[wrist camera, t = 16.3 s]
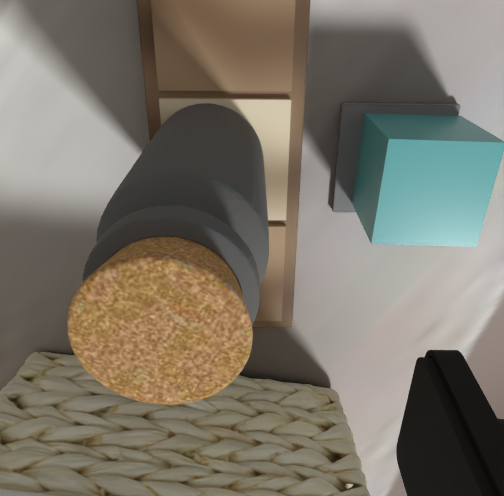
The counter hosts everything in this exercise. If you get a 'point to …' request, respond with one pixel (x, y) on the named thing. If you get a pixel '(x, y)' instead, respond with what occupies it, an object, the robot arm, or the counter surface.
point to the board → (240, 100)
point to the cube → (424, 179)
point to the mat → (352, 136)
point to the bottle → (177, 263)
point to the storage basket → (171, 439)
